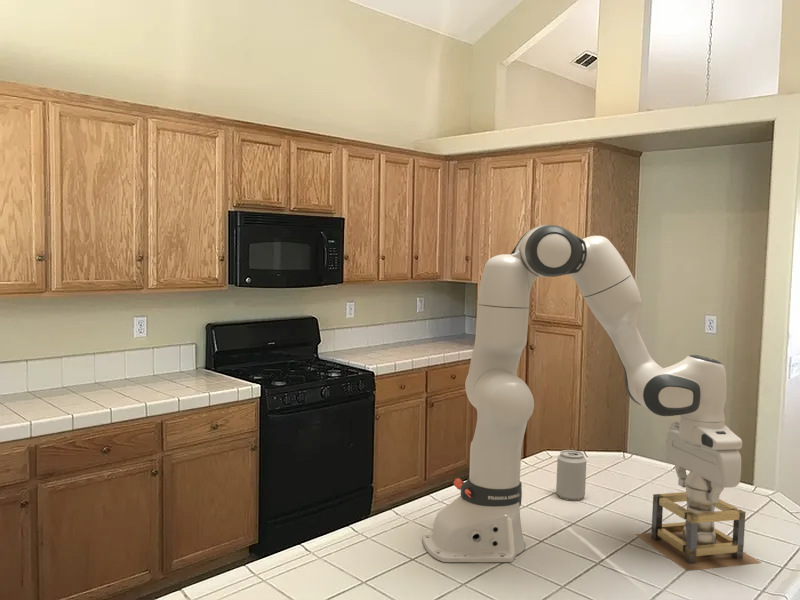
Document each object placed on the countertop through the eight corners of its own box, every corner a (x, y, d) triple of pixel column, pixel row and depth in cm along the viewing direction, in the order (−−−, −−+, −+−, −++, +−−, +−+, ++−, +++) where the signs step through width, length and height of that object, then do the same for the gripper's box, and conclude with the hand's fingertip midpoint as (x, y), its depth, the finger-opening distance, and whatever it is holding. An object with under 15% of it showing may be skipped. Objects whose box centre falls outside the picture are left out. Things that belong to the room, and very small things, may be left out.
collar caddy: (689, 564, 137) (692, 516, 137) (651, 537, 150) (653, 494, 149) (742, 558, 141) (745, 512, 140) (700, 533, 153) (703, 490, 152)
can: (588, 495, 180) (590, 451, 179) (579, 503, 174) (581, 458, 173) (561, 489, 184) (563, 446, 183) (552, 497, 178) (553, 453, 177)
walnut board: (686, 576, 134) (687, 570, 134) (634, 539, 152) (634, 534, 152) (761, 568, 139) (761, 562, 139) (702, 533, 156) (702, 528, 156)
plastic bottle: (719, 558, 140) (725, 463, 139) (685, 554, 141) (690, 461, 141) (710, 545, 147) (715, 455, 146) (678, 542, 148) (683, 453, 147)
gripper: (658, 419, 153) (655, 478, 154) (722, 444, 133) (718, 512, 134) (682, 418, 154) (679, 477, 155) (748, 443, 135) (744, 510, 135)
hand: (697, 493), depth 144 cm, fingers open, 8 cm apart
